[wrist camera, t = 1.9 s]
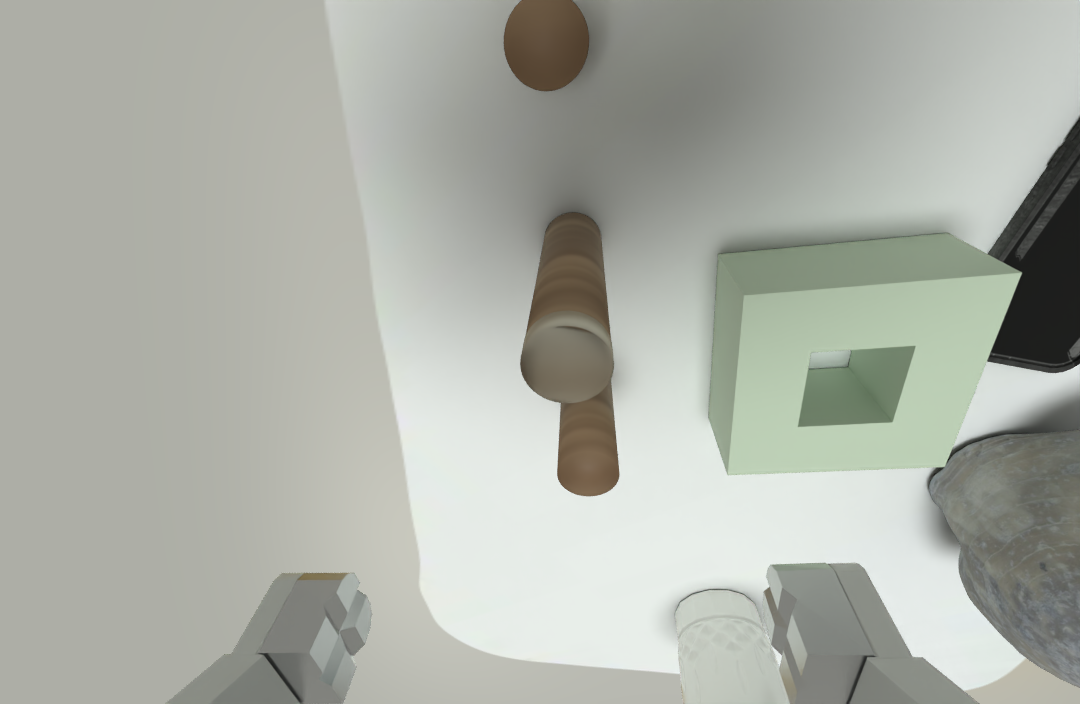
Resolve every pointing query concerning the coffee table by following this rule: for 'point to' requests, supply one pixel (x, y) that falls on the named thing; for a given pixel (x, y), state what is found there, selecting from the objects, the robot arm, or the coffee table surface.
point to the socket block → (876, 359)
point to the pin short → (546, 43)
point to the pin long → (569, 315)
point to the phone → (1044, 270)
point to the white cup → (725, 652)
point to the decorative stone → (1021, 540)
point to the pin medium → (588, 445)
